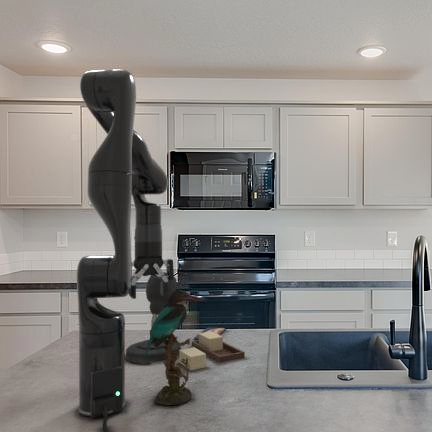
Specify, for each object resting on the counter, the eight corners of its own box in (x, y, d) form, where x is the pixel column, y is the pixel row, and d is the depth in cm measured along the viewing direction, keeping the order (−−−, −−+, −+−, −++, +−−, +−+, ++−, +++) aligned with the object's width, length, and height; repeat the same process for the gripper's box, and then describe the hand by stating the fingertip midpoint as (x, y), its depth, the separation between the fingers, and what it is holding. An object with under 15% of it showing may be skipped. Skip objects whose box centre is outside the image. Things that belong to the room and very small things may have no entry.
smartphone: (226, 328, 164) (214, 339, 149) (226, 330, 164) (214, 342, 149) (206, 327, 165) (192, 338, 150) (206, 329, 165) (192, 340, 150)
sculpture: (202, 407, 98) (202, 293, 98) (139, 406, 99) (139, 292, 99) (211, 392, 106) (211, 287, 106) (153, 391, 107) (153, 286, 107)
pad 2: (222, 349, 139) (222, 336, 139) (209, 352, 136) (209, 339, 136) (211, 343, 146) (211, 331, 146) (198, 345, 143) (198, 333, 143)
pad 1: (206, 368, 123) (206, 354, 123) (190, 371, 121) (190, 357, 121) (194, 360, 130) (194, 347, 130) (179, 363, 127) (179, 349, 127)
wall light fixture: (189, 270, 148) (173, 275, 128) (189, 346, 147) (172, 364, 127) (142, 270, 148) (118, 275, 128) (141, 346, 147) (117, 363, 127)
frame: (244, 358, 132) (244, 352, 132) (219, 364, 127) (219, 357, 127) (214, 343, 148) (214, 337, 148) (191, 347, 143) (191, 341, 143)
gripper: (127, 241, 121) (127, 301, 121) (177, 239, 129) (177, 296, 129) (118, 240, 127) (119, 297, 127) (167, 238, 135) (167, 292, 135)
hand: (148, 296), depth 128 cm, fingers open, 8 cm apart
